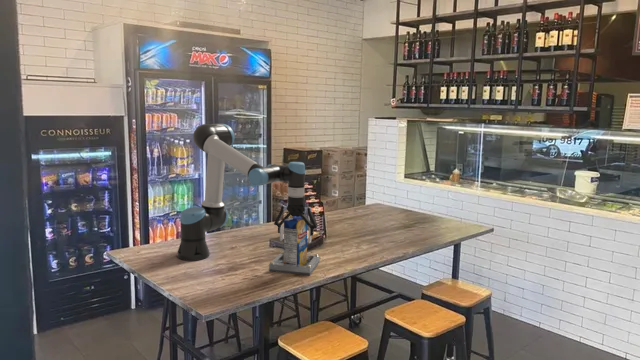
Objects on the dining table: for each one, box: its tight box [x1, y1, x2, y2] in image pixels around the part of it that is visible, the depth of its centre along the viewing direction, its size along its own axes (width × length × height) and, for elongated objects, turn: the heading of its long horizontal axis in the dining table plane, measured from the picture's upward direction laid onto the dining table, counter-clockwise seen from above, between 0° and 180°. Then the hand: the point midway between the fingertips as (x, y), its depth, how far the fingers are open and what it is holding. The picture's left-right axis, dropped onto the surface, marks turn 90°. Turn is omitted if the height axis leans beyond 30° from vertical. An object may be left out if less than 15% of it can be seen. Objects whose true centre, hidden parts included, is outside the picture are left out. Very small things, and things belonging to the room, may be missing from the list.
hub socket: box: [268, 250, 320, 276], centre depth 227 cm, size 19×19×4 cm
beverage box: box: [283, 216, 309, 265], centre depth 226 cm, size 7×11×22 cm, turn 157°
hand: (295, 241), depth 226 cm, fingers open, 13 cm apart
